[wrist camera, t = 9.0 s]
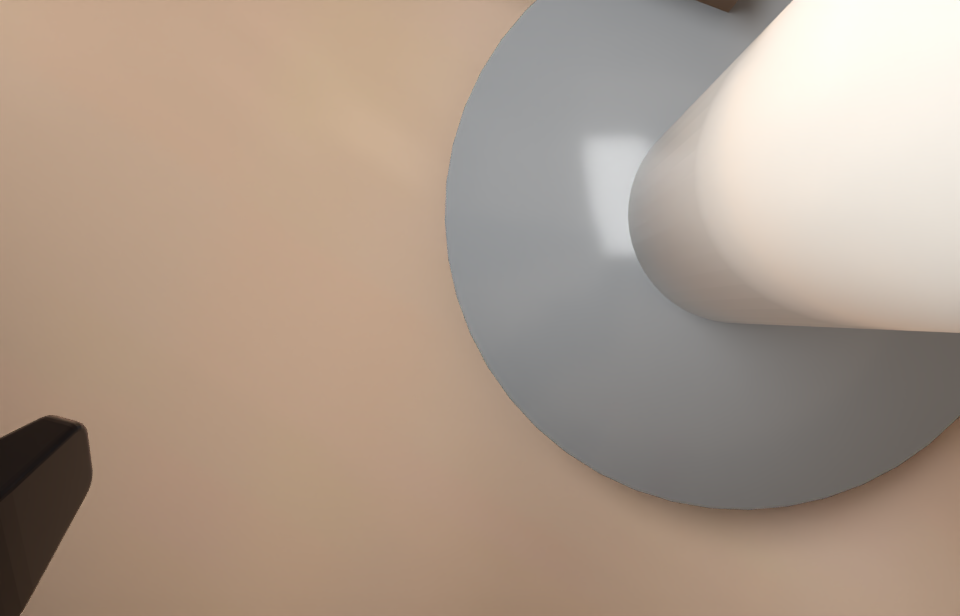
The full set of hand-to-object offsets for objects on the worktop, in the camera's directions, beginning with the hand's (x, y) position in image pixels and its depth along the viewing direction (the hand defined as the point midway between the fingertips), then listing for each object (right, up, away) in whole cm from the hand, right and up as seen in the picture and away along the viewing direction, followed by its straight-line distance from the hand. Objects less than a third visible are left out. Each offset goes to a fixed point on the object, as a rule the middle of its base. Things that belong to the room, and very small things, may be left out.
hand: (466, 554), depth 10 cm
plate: (+5, +5, +9) cm, 12 cm away
